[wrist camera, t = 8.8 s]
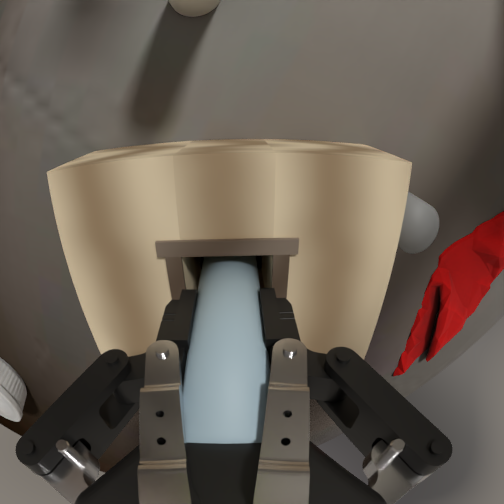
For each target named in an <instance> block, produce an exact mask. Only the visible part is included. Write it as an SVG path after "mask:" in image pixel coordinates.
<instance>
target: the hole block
mask: <svg viewBox="0 0 504 504" xmlns="http://www.w3.org/2000/svg"><path fill="white" fill-rule="evenodd" d="M411 167H412V163H411V162H409V161H407V160H404V159H402V158H399V157H397V156H394V155H392V154H389V153H386V152H384V151H381V150H378V149H376V148H373V147H370V146H367V145H362V144H352V143H341V142H327V141H311V140H286V139H223V140H199V141H182V142H169V143H157V144H147V145H138V146H129V147H121V148H114V149H107V150H100V151H95V152H92V153H89V154H87V155H84V156H82V157H80V158H77V159H75V160H72V161H70V162H68V163H65V164H63V165H61V166H59V167H56V168H54V169H52V170H50V171H48V172H47V176H48V182H49V188H50V194H51V199H52V204H53V209H54V214H55V218H56V222H57V227H58V231H59V235H60V239H61V243H62V246H63V250H64V254H65V257H66V261H67V264H68V267H69V271H70V274H71V277H72V280H73V283H74V286H75V289H76V292H77V295H78V298H79V301H80V303H81V306H82V309H83V312H84V314H85V317H86V319H87V322H88V324H89V327H90V329H91V332H92V334H93V337H94V339H95V341H96V344H97V346H98V348H99V350H100V353H101V355H102V354H103V353H104V352H106V351H108V350H111V349H120V350H123V351H124V352H125V353H126V354H127V356H128V357H129V356H135V355H139V354H143V353H145V352H146V350H147V348H148V347H149V346H150V345H151V344H152V343H154V342H156V339H157V335H158V331H159V328H160V324H161V321H162V317H163V315H164V310H165V307H166V305H167V304H168V303H169V302H170V301H171V300H179V299H180V295H181V291H182V289H197V290H198V287H199V281H200V276H201V263H200V257H204V256H251V255H262V268H258V276H259V283H260V288H274V289H275V293H276V298H286V299H287V300H288V301H289V302H290V303H291V305H292V308H293V313H294V316H295V320H296V324H297V328H298V332H299V336H300V340H301V342H302V343H303V344H304V345H305V346H306V348H307V349H309V350H311V351H314V352H318V353H324V354H327V353H328V352H329V351H330V350H331V349H332V348H335V347H347V348H350V349H352V350H353V351H355V352H356V353H357V354H358V355H359V356H360V357H361V358H362V359H363V360H364V358H365V355H366V353H367V350H368V347H369V344H370V341H371V339H372V336H373V333H374V330H375V327H376V324H377V320H378V317H379V314H380V311H381V308H382V304H383V301H384V297H385V294H386V290H387V287H388V283H389V279H390V276H391V272H392V268H393V264H394V260H395V255H396V251H397V247H398V242H399V238H400V233H401V228H402V223H403V218H404V212H405V207H406V201H407V195H408V189H409V182H410V175H411Z"/></svg>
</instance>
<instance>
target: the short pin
mask: <svg viewBox="0 0 504 504" xmlns="http://www.w3.org/2000/svg"><path fill="white" fill-rule="evenodd" d="M438 230H439V216H438V213H437V211H436V210H435V209H434V208H433V207H432V206H431V205H429V204H428V203H426V202H424V201H423V200H421V199H420V198H418V197H416V196H415V195H413V194H412V193H410V192H408V195H407V201H406V207H405V212H404V218H403V223H402V228H401V233H400V238H399V242H398V246H399V247H400V248H401V249H402V250H403V251H405V252H407V253H411V254H414V253H419V252H421V251H423V250H425V249H426V248H428V247H429V246H430V245H431V244H432V242H433V241H434V239H435V238H436V235H437V233H438Z"/></svg>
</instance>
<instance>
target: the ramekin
mask: <svg viewBox="0 0 504 504" xmlns="http://www.w3.org/2000/svg"><path fill="white" fill-rule="evenodd" d="M26 396H27V390H26V386H25V383H24V382H23V380H22V378H21V377H20V376H19V374H18V373H17V372H16V371H15V370H14V369H13V368H12V367H11V366H10V365H9V364H8V363H7V362H5V361H4V360H3V359H2V358H0V415H1V416H3V417H5V418H7V419H9V420H12V421H16V422H18V421H20V420H21V418H22V410H23V407H24V403H25V400H26Z"/></svg>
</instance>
